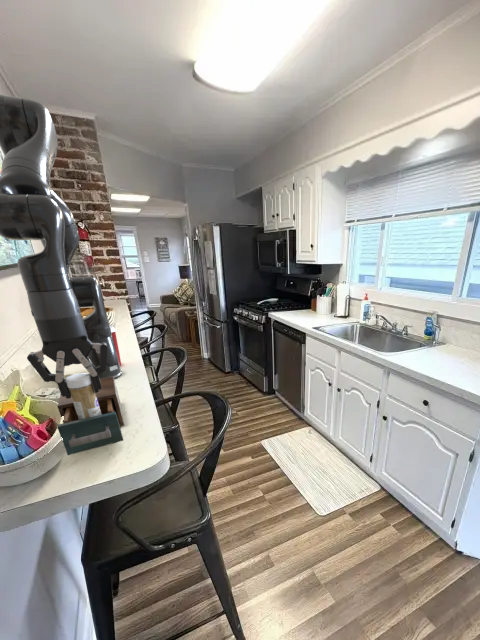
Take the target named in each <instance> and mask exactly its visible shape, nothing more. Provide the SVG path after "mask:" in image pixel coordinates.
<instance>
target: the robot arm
mask: <svg viewBox="0 0 480 640" xmlns="http://www.w3.org/2000/svg"><path fill="white" fill-rule="evenodd" d="M58 141H59V140H58V136H57V131H56V127H55V124H54V121H53V118H52V116H51V113H50V112H49V110H48V108H47V107H46V106H45V105H44V104H43V103H41V102H39V101H37V100H34V99H31V98H26V97H19V96H13V95H7V94H5V95H4V94H0V149H1V152H2V153H3V155H4V157H3V159H2V161H1V162H2V163H1V171H0V172H1V173H0V237H2V238H4V239H6V240H10V241H40V242H41V245H42V247H43V249H42V250H41V251H40V252H36V253H33V254H28V255H24V256H21V257H19V258H18V259H17V268H18V271H19V274H20V276H21V277H20V278H21V280H22V282H23V286H24V289H25V291H26V295H27V300H28V304H29V308H30V313H31V316H32V317H33V319H34V322H35V325H36V328H37V330H38V331H37V332H38V333H39V336H40V339H41V343H42V347H41V349H40V350H38V351H35V352H34V351H31V352H30V353H28V354H27V356H26V360H27V361H28V362H29V364H30V365H31V366H32V367H33V368H34V370H35V371H36V372H37V374H38V375H39V376H40V377H41V379H42V380H43V382H44V383H45V382H46V383H49V382H52V383H53V382H54V383H56V384H57V387H58V390H59V393H60V395H62V396H63V397H64V396H66V399H68V398H71V393H70V390H69V388H68V387H67V384H66V381H65V379H66V378H65V367H70V366H72V365H81V366H83V368H84V369H85V370H86V371H87V373H88V374H90V375H91V381H92V384H93V387H94V391H95V393H98V392H99V390H100V389H101V382H100V379H103V378H109V377H114V379H116V378H119V377H121V375H122V374H123V371H122V368H121V366H120V364H119V360H118V356H117V352H116V348H115V345H114V341H113V337H112V333H111V329H110V326H111V325H110V321H109V318H108V315H107V311H106V306H105V299H104V295H103V290H102V286H101V283H100V281H99V280H98V278H97V277H96V276H73V277H72V276H71V277H70V275H69V269H70V265H71V262H72V260H73V257H74V256H75V253H76V251H77V249H78V246H79V243H80V234H79V230H78V227H77V223H76V220H75V217H74V214H73V212H72V210H71V209H70V208H69V206H68V205H67V204H66V202H65V201H64V200H62V199H61V197H60V196H58V195H57V193H56V192H54V191H53V190H52V185H51V174H52V170H53V168H54V167H53V166H54V164H55V162H56V158H57V154H58V149H59V142H58ZM83 308H93V311H92V312H91V313H89V314H87V315H86V316H85V317H83V316H82V311H81V309H83ZM44 356H46V357H48V358H49V359H50V360H52V361H53V362H54V363H56V364H55V373H52V372H51V371H50V369H49V368H48V366H47V365H46V364H45V363H44V361H45V357H44Z"/></svg>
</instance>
